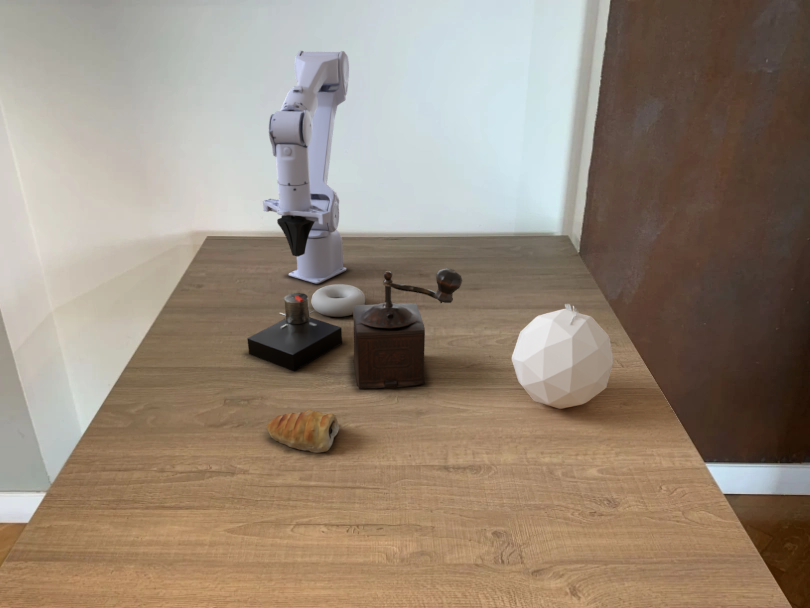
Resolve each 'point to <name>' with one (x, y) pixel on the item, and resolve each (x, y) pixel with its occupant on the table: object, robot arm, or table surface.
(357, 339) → the manual coffee grinder
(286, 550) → the table surface
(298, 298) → the stove knob
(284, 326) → the stove
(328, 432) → the pastry
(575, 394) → the geodesic sphere
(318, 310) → the donut
